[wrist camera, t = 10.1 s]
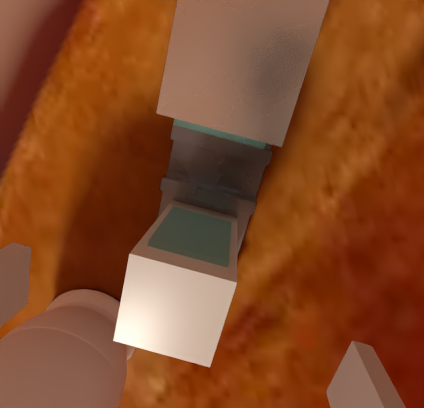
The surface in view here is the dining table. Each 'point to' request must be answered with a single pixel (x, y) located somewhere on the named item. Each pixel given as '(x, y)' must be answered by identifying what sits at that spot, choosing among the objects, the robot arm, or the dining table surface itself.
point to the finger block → (180, 284)
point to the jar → (65, 356)
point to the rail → (232, 96)
